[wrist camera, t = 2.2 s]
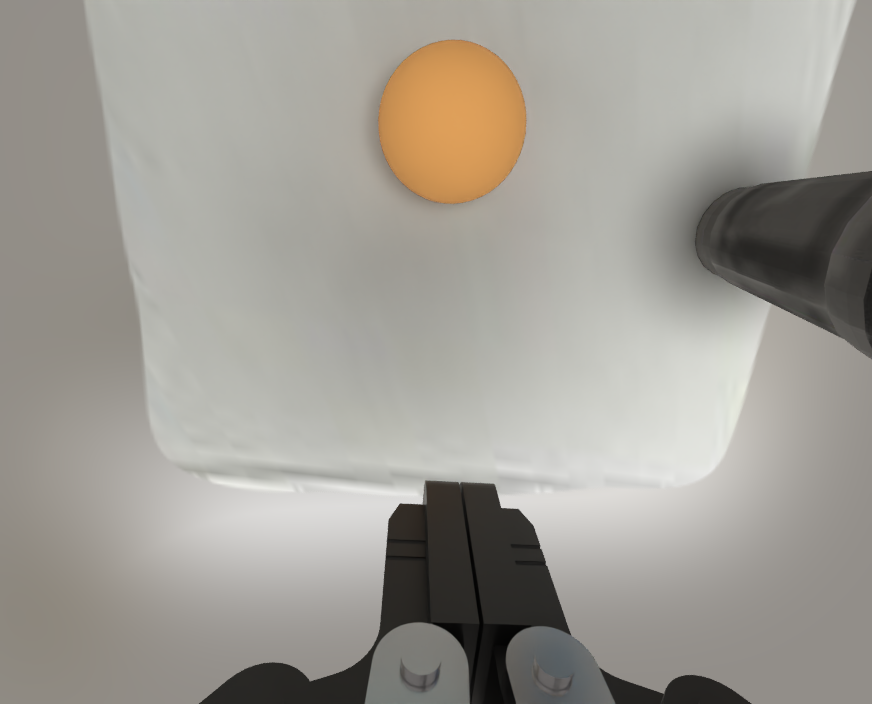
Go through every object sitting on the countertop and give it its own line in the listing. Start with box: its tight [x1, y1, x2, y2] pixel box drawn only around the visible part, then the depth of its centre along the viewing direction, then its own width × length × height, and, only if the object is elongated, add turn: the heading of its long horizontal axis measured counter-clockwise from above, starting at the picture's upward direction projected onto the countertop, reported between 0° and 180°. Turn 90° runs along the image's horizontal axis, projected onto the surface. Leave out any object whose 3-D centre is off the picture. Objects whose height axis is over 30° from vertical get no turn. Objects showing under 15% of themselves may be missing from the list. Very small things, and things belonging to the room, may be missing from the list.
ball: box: [378, 40, 526, 204], centre depth 20 cm, size 6×6×6 cm
